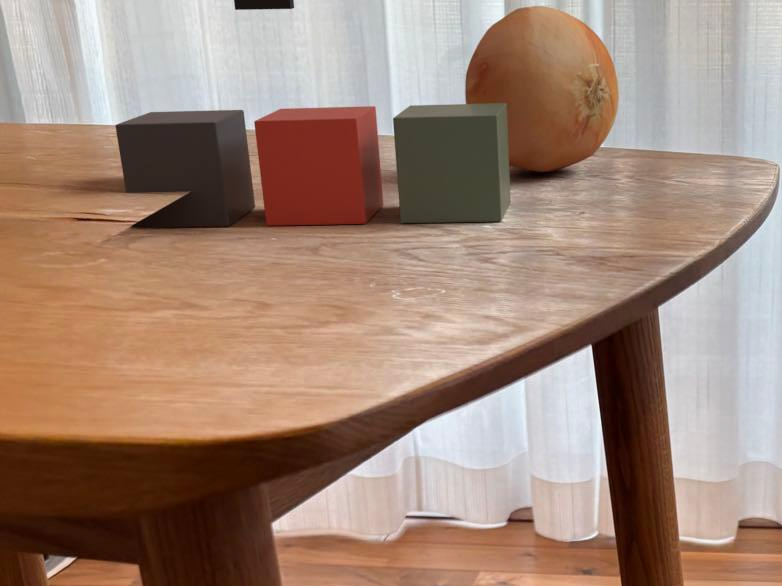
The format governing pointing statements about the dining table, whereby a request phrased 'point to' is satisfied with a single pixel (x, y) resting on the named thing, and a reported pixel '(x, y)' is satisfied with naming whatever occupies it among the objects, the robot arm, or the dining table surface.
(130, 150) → the charcoal block
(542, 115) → the onion
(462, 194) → the green block
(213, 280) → the dining table surface
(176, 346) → the dining table surface
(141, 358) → the dining table surface
